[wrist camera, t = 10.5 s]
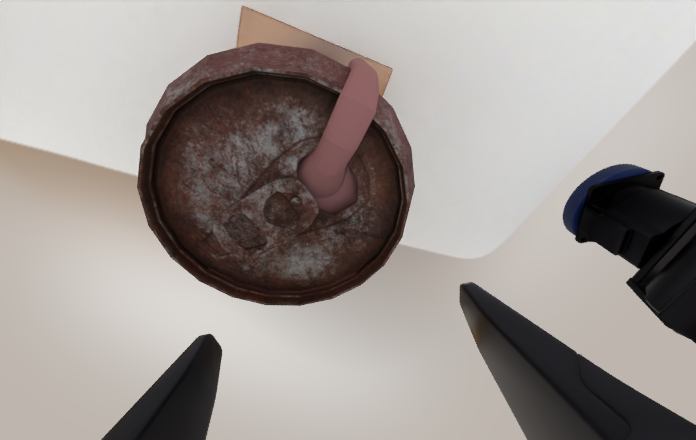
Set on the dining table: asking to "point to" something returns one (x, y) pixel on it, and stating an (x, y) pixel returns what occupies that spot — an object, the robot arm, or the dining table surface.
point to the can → (276, 174)
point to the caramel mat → (298, 41)
